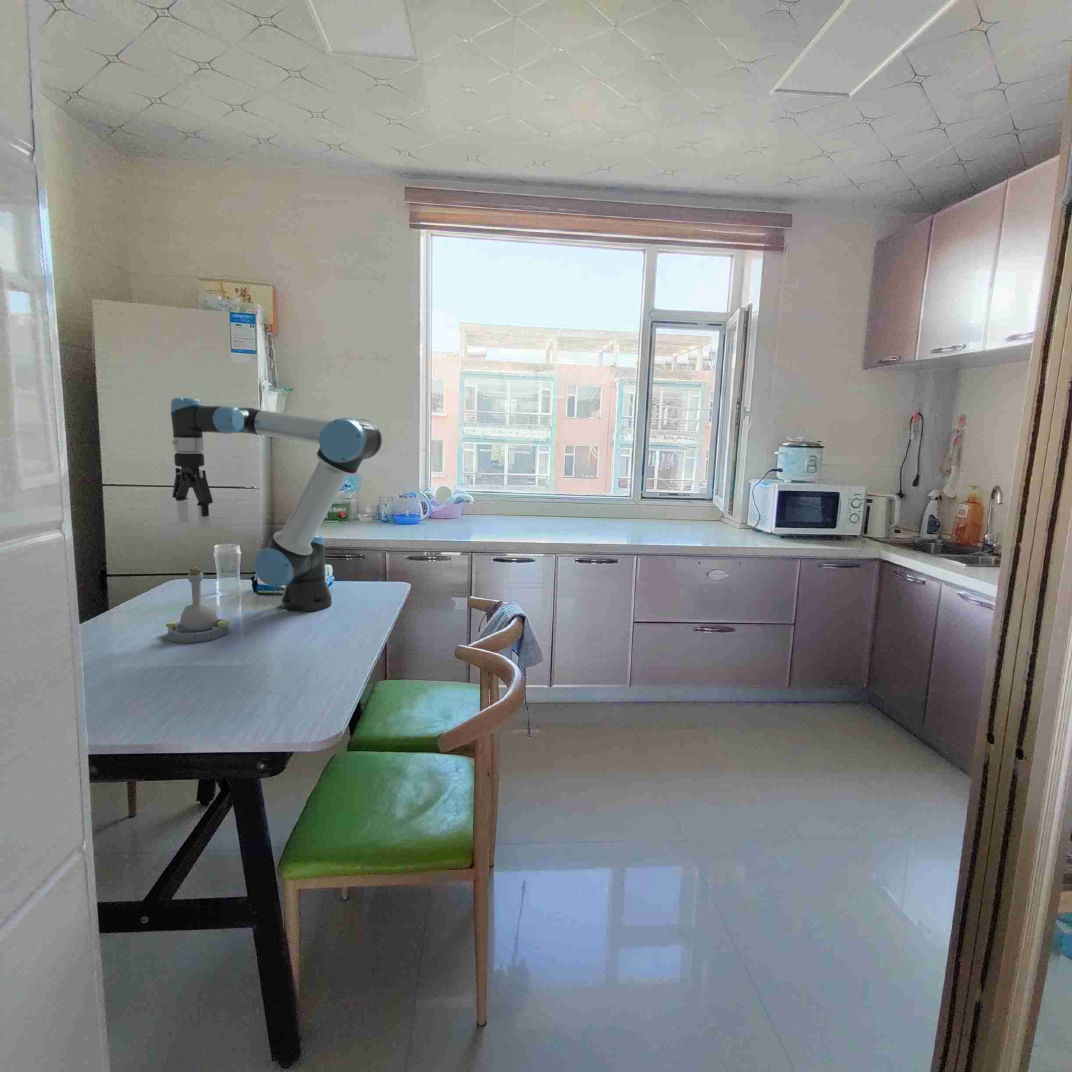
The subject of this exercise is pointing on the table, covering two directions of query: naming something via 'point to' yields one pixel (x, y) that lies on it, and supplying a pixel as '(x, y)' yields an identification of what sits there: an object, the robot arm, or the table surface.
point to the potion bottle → (197, 608)
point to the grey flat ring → (180, 636)
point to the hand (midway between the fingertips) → (193, 524)
